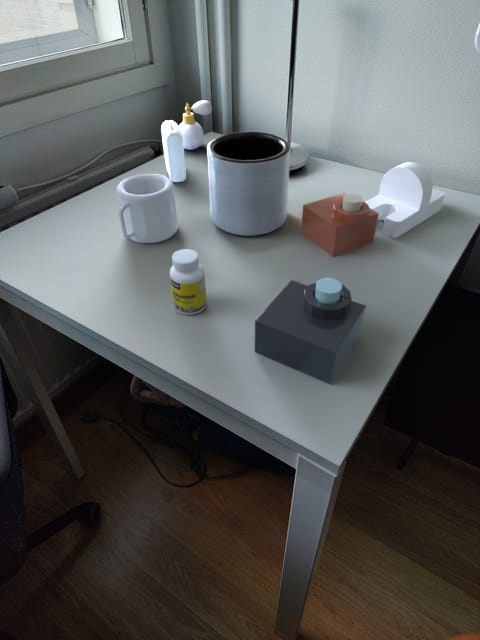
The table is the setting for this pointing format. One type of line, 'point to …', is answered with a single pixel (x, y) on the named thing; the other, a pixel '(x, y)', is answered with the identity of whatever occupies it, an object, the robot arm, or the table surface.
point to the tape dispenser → (405, 198)
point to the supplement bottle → (188, 282)
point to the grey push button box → (309, 330)
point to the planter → (248, 182)
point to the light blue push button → (328, 290)
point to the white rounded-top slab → (173, 151)
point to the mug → (147, 208)
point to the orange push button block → (338, 225)
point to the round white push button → (352, 202)
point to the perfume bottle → (193, 125)
